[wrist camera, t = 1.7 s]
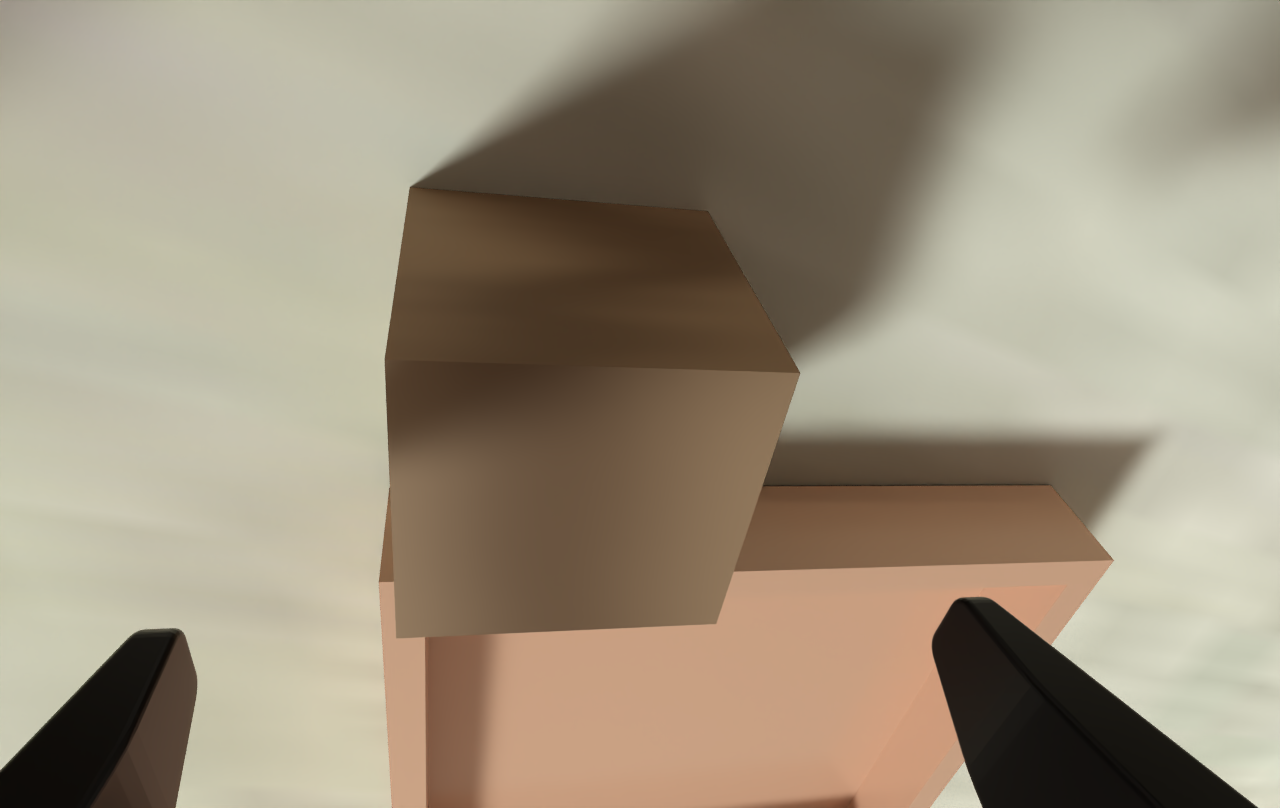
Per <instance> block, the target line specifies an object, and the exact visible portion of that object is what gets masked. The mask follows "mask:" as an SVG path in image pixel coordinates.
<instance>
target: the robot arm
mask: <svg viewBox="0 0 1280 808" xmlns="http://www.w3.org/2000/svg"><path fill="white" fill-rule="evenodd" d="M932 654H933V658H934V662H935V665H936V668H937V672H938V675H939V678H940V682H941V685H942V688H943V692H944V695H945V698H946V702H947V705H948V708H949V711H950V715H951V718H952V721H953V725H954V728H955V731H956V735H957V738H958V741H959V745H960V748H961V751H962V754H963V757H964V760H965V763H966V766H967V769H968V772H969V774H970V777H971V780H972V782H973V785H974V788H975V790H976V793H977V795H978V797H979V800H980V802H981V805H982V807H983V808H1258V807H1257V806H1255V805H1254V804H1253V803H1251V802H1250V801H1249V800H1248V799H1246V798H1245V797H1244V796H1243V795H1241V794H1240V793H1239V792H1237V791H1236V790H1235V789H1234V788H1232V787H1231V786H1230V785H1229V784H1227V783H1226V782H1225V781H1223V780H1222V779H1221V778H1220V777H1218V776H1217V775H1216V774H1214V773H1213V772H1212V771H1211V770H1209V769H1208V768H1207V767H1206V766H1204V765H1203V764H1202V763H1200V762H1199V761H1198V760H1197V759H1195V758H1194V757H1193V756H1192V755H1190V754H1189V753H1188V752H1186V751H1185V750H1184V749H1183V748H1181V747H1180V746H1179V745H1177V744H1176V743H1175V742H1174V741H1172V740H1171V739H1170V738H1169V737H1167V736H1166V735H1165V734H1163V733H1162V732H1161V731H1160V730H1158V729H1157V728H1156V727H1155V726H1153V725H1152V724H1151V723H1149V722H1148V721H1147V720H1146V719H1144V718H1143V717H1142V716H1140V715H1139V714H1138V713H1137V712H1135V711H1134V710H1133V709H1132V708H1130V707H1129V706H1128V705H1126V704H1125V703H1124V702H1123V701H1121V700H1120V699H1119V698H1118V697H1116V696H1115V695H1114V694H1112V693H1111V692H1110V691H1109V690H1107V689H1106V688H1105V687H1103V686H1102V685H1101V684H1100V683H1098V682H1097V681H1096V680H1095V679H1093V678H1092V677H1091V676H1089V675H1088V674H1087V673H1086V672H1084V671H1083V670H1082V669H1081V668H1079V667H1078V666H1077V665H1075V664H1074V663H1073V662H1072V661H1070V660H1069V659H1068V658H1067V657H1065V656H1064V655H1063V654H1061V653H1060V652H1059V651H1058V650H1056V649H1055V648H1054V647H1052V646H1051V645H1050V644H1049V643H1047V642H1046V641H1045V640H1044V639H1042V638H1041V637H1040V636H1038V635H1037V634H1036V633H1035V632H1033V631H1032V630H1031V629H1030V628H1028V627H1027V626H1026V625H1024V624H1023V623H1022V622H1021V621H1019V620H1018V619H1017V618H1015V617H1014V616H1013V615H1012V614H1010V613H1009V612H1008V611H1007V610H1005V609H1004V608H1003V607H1001V606H1000V605H999V604H998V603H996V602H995V601H993V600H992V599H990V598H987V597H962V598H958V599H956V600H955V601H954V602H953V603H952V605H951V606H950V608H949V610H948V611H947V613H946V615H945V616H944V618H943V620H942V621H941V623H940V625H939V626H938V628H937V630H936V631H935V633H934V635H933V638H932ZM196 695H197V675H196V671H195V667H194V664H193V661H192V657H191V654H190V650H189V647H188V644H187V640H186V637H185V635H184V633H183V632H182V631H181V630H179V629H176V628H169V629H145V630H140V631H138V632H136V633H134V634H133V635H131V636H130V637H129V638H128V639H127V640H126V641H125V642H124V643H123V644H122V645H121V646H120V647H119V648H118V649H117V650H116V651H115V652H114V653H113V654H112V655H111V656H110V657H109V658H108V660H107V661H106V662H105V663H104V664H103V665H102V666H101V667H100V668H99V669H98V670H97V671H96V672H95V673H94V674H93V675H92V676H91V677H90V678H89V679H88V680H87V681H86V682H85V683H84V684H83V685H82V686H81V687H80V689H79V690H78V691H77V692H76V693H75V694H74V695H73V696H72V697H71V698H70V699H69V700H68V701H67V702H66V703H65V704H64V705H63V706H62V707H61V708H60V709H59V710H58V711H57V712H56V713H55V714H54V715H53V716H52V717H51V719H50V720H49V721H48V722H47V723H46V724H45V725H44V726H43V727H42V728H41V729H40V730H39V731H38V732H37V733H36V734H35V735H34V736H33V737H32V738H31V739H30V740H29V741H28V742H27V743H26V744H25V745H24V746H23V748H22V749H21V750H20V751H19V752H18V753H17V754H16V755H15V756H14V757H13V758H12V759H11V760H10V761H9V762H8V763H7V764H6V765H5V766H4V767H3V768H2V769H1V770H0V808H175V807H176V802H177V797H178V791H179V786H180V781H181V775H182V770H183V765H184V759H185V754H186V749H187V744H188V738H189V733H190V728H191V722H192V717H193V712H194V706H195V701H196Z"/></svg>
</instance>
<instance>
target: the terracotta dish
mask: <svg viewBox="0 0 1280 808" xmlns="http://www.w3.org/2000/svg"><path fill="white" fill-rule="evenodd" d="M1113 561H1114V560H1113V559H1112V557H1111V556H1110V555H1109V554H1108V553H1107V551H1106V550H1105V549H1104V548H1103V547H1102V546H1101V544H1100V543H1099V542H1098V541H1097V540H1096V538H1095V537H1094V536H1093V535H1092V534H1091V533H1090V531H1089V530H1088V529H1087V528H1086V527H1085V525H1084V524H1083V523H1082V522H1081V521H1080V519H1079V518H1078V517H1077V516H1076V515H1075V514H1074V512H1073V511H1072V510H1071V509H1070V508H1069V506H1068V505H1067V504H1066V503H1065V502H1064V500H1063V499H1062V498H1061V497H1060V496H1059V495H1058V493H1057V492H1056V491H1055V490H1054V489H1053V487H1052V486H1051V485H1020V486H762V489H761V492H760V495H759V498H758V501H757V504H756V507H755V510H754V513H753V516H752V519H751V522H750V525H749V528H748V531H747V534H746V537H745V540H744V542H743V545H742V548H741V551H740V554H739V557H738V560H737V563H736V566H735V569H734V572H733V575H732V578H731V581H730V584H729V587H728V590H727V593H726V596H725V599H724V602H723V605H722V608H721V611H720V614H719V617H718V620H717V623H716V624H706V625H684V626H662V627H640V628H618V629H595V630H573V631H551V632H529V633H507V634H485V635H463V636H441V637H419V638H397V639H396V620H395V596H394V572H393V548H392V523H391V499H390V488H389V496H388V505H387V514H386V523H385V532H384V541H383V550H382V559H381V568H380V577H379V593H380V610H381V627H382V644H383V661H384V679H385V696H386V713H387V730H388V747H389V764H390V782H391V799H392V808H930V807H931V805H932V804H933V803H934V801H935V800H936V799H937V797H938V796H939V795H940V793H941V792H942V791H943V789H944V788H945V786H946V785H947V784H948V782H949V781H950V780H951V778H952V777H953V776H954V774H955V773H956V772H957V770H958V769H959V768H960V766H961V765H962V764H963V762H964V761H965V760H964V757H963V754H962V751H961V748H960V745H959V741H958V738H957V735H956V731H955V728H954V725H953V721H952V718H951V715H950V711H949V708H948V705H947V702H946V698H945V695H944V692H943V688H942V685H941V682H940V678H939V675H938V672H937V668H936V665H935V662H934V658H933V654H932V638H933V635H934V633H935V631H936V630H937V628H938V626H939V625H940V623H941V621H942V620H943V618H944V616H945V615H946V613H947V611H948V610H949V608H950V606H951V605H952V603H953V602H954V601H955V600H956V599H958V598H962V597H987V598H990V599H992V600H993V601H995V602H996V603H998V604H999V605H1000V606H1001V607H1003V608H1004V609H1005V610H1007V611H1008V612H1009V613H1010V614H1012V615H1013V616H1014V617H1015V618H1017V619H1018V620H1019V621H1021V622H1022V623H1023V624H1024V625H1026V626H1027V627H1028V628H1030V629H1031V630H1032V631H1033V632H1035V633H1036V634H1037V635H1038V636H1040V637H1041V638H1042V639H1044V640H1045V641H1046V642H1047V643H1049V644H1050V645H1051V644H1052V643H1053V641H1054V640H1055V639H1056V637H1057V636H1058V635H1059V633H1060V632H1061V631H1062V629H1063V628H1064V627H1065V625H1066V624H1067V623H1068V621H1069V620H1070V619H1071V617H1072V616H1073V615H1074V613H1075V612H1076V611H1077V609H1078V608H1079V607H1080V605H1081V604H1082V603H1083V601H1084V600H1085V599H1086V597H1087V596H1088V595H1089V593H1090V592H1091V590H1092V589H1093V588H1094V586H1095V585H1096V584H1097V582H1098V581H1099V580H1100V578H1101V577H1102V576H1103V574H1104V573H1105V572H1106V570H1107V569H1108V568H1109V566H1110V565H1111V564H1112V562H1113Z"/></svg>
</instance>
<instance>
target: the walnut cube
mask: <svg viewBox="0 0 1280 808" xmlns="http://www.w3.org/2000/svg"><path fill="white" fill-rule="evenodd" d="M799 375H800V372H799V370H798V368H797V367H796V365H795V363H794V361H793V360H792V358H791V356H790V354H789V353H788V351H787V349H786V347H785V346H784V344H783V342H782V340H781V339H780V337H779V335H778V333H777V332H776V330H775V328H774V326H773V325H772V323H771V321H770V319H769V318H768V316H767V314H766V312H765V311H764V309H763V307H762V305H761V304H760V302H759V300H758V298H757V297H756V295H755V293H754V291H753V290H752V288H751V286H750V284H749V283H748V281H747V279H746V277H745V276H744V274H743V272H742V271H741V269H740V267H739V265H738V264H737V262H736V260H735V258H734V257H733V255H732V253H731V251H730V250H729V248H728V246H727V244H726V243H725V241H724V239H723V237H722V236H721V234H720V232H719V230H718V229H717V227H716V225H715V223H714V222H713V220H712V218H711V216H710V215H709V213H708V211H698V210H686V209H673V208H661V207H648V206H636V205H624V204H611V203H599V202H587V201H574V200H562V199H550V198H537V197H525V196H513V195H500V194H488V193H475V192H463V191H451V190H438V189H426V188H414V187H410V189H409V196H408V203H407V210H406V217H405V224H404V231H403V237H402V244H401V251H400V258H399V265H398V272H397V279H396V285H395V292H394V299H393V306H392V313H391V320H390V327H389V333H388V340H387V347H386V354H385V379H386V403H387V427H388V451H389V475H390V499H391V523H392V548H393V572H394V596H395V620H396V639H397V638H419V637H441V636H463V635H485V634H507V633H529V632H551V631H573V630H595V629H618V628H640V627H662V626H684V625H706V624H716V623H717V620H718V617H719V614H720V611H721V608H722V605H723V602H724V599H725V596H726V593H727V590H728V587H729V584H730V581H731V578H732V575H733V572H734V569H735V566H736V563H737V560H738V557H739V554H740V551H741V548H742V545H743V542H744V540H745V537H746V534H747V531H748V528H749V525H750V522H751V519H752V516H753V513H754V510H755V507H756V504H757V501H758V498H759V495H760V492H761V489H762V486H763V483H764V480H765V477H766V474H767V471H768V468H769V465H770V462H771V459H772V456H773V453H774V450H775V447H776V444H777V441H778V438H779V435H780V432H781V429H782V426H783V423H784V420H785V417H786V414H787V411H788V408H789V405H790V402H791V399H792V396H793V393H794V390H795V387H796V384H797V381H798V378H799Z"/></svg>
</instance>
